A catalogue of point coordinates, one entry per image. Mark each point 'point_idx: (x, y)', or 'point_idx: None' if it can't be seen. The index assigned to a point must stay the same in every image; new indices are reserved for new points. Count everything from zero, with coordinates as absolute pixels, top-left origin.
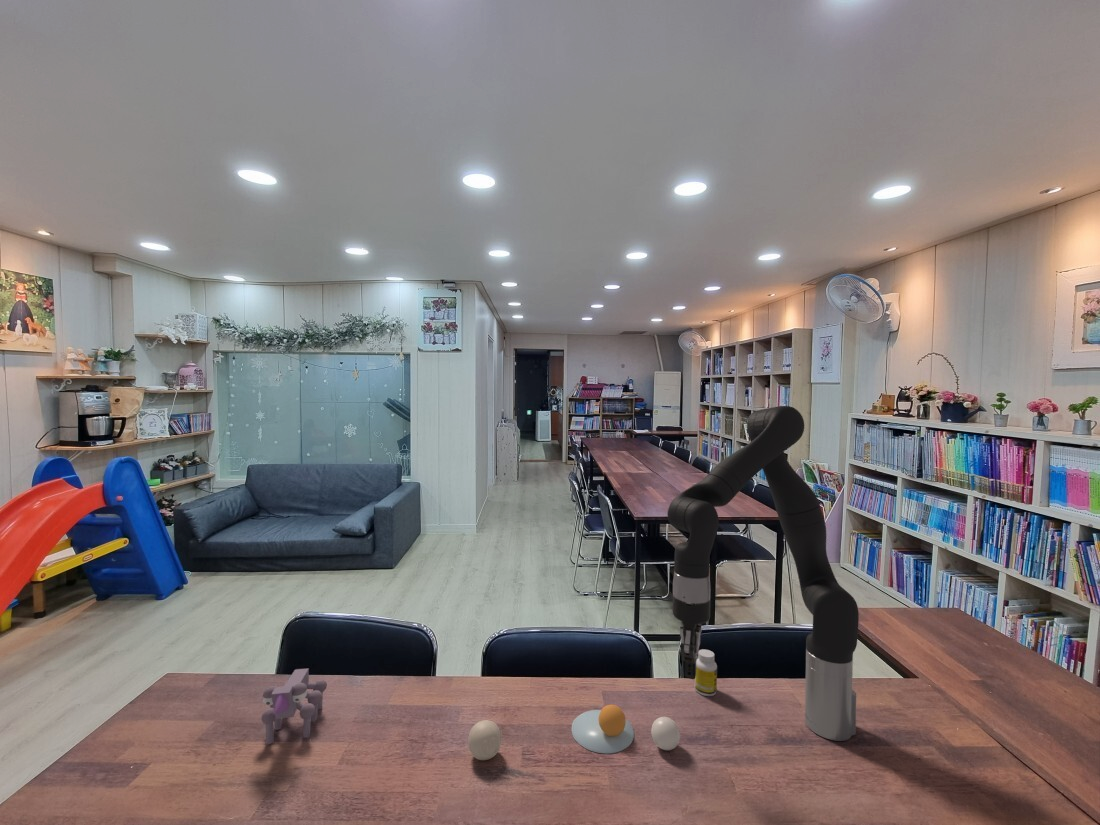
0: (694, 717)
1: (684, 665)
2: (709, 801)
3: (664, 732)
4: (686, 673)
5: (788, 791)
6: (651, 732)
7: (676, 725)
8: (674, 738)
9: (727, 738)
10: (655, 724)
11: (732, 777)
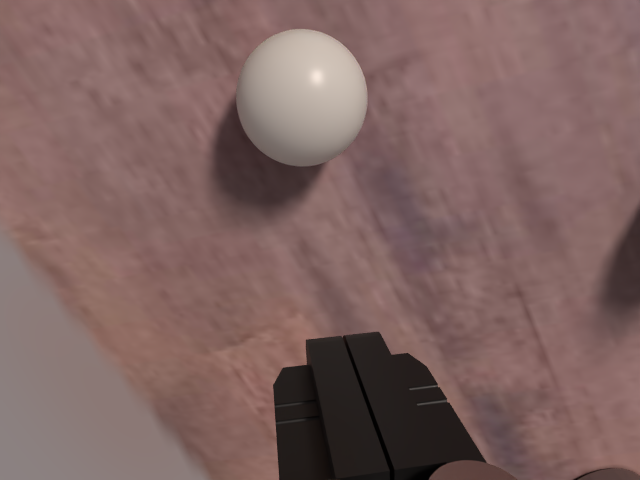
0: (518, 168)
1: (320, 413)
2: (120, 294)
3: (250, 109)
4: (275, 396)
5: None
6: (273, 35)
7: (323, 153)
8: (264, 153)
9: (444, 292)
10: (278, 52)
11: (265, 335)
